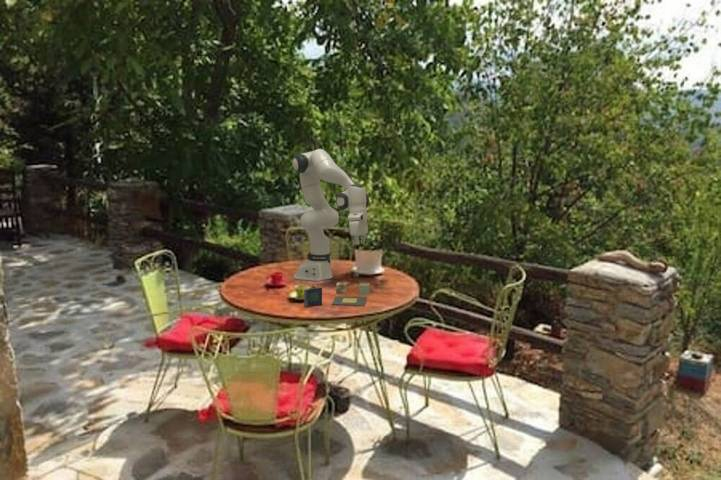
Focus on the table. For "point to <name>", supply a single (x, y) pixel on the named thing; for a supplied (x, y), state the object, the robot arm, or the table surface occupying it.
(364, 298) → the mat
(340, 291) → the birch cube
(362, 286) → the sage cube
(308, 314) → the table surface
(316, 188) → the robot arm
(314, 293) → the dark blue box
